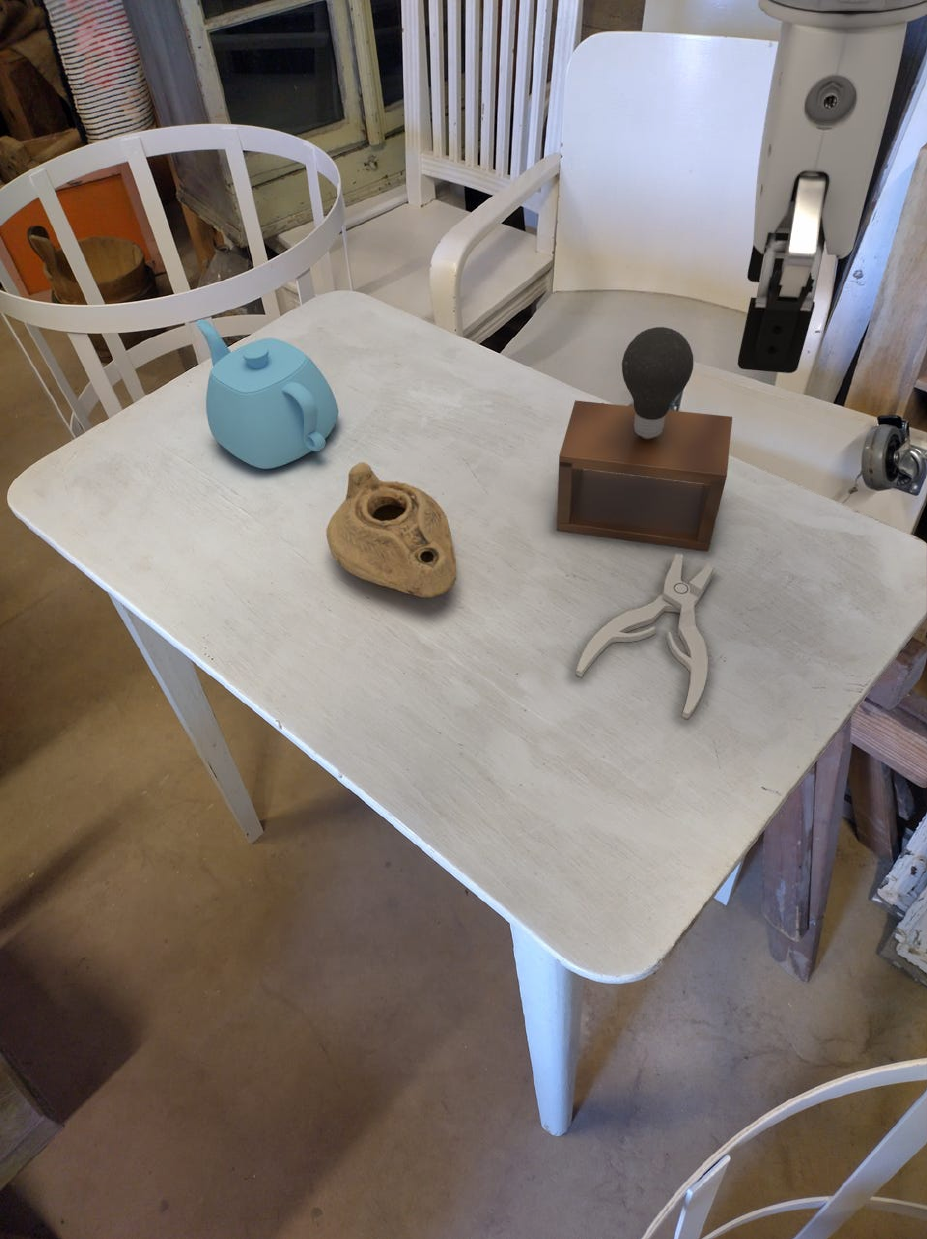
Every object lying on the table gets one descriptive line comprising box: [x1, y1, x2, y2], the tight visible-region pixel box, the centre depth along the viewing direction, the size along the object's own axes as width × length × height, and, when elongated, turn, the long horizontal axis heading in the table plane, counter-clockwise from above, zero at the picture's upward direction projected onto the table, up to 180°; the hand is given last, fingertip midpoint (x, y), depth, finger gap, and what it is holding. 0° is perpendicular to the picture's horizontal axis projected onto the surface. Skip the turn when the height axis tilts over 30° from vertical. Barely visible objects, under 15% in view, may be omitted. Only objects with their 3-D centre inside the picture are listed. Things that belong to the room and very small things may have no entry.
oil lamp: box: [325, 461, 457, 598], centre depth 72 cm, size 11×15×8 cm
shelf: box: [555, 400, 733, 552], centre depth 74 cm, size 14×8×9 cm, turn 75°
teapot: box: [196, 319, 339, 470], centre depth 85 cm, size 13×11×18 cm
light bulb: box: [621, 326, 694, 439], centre depth 67 cm, size 6×6×10 cm
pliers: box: [575, 553, 715, 720], centre depth 68 cm, size 10×2×15 cm
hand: (769, 322), depth 49 cm, fingers open, 9 cm apart
